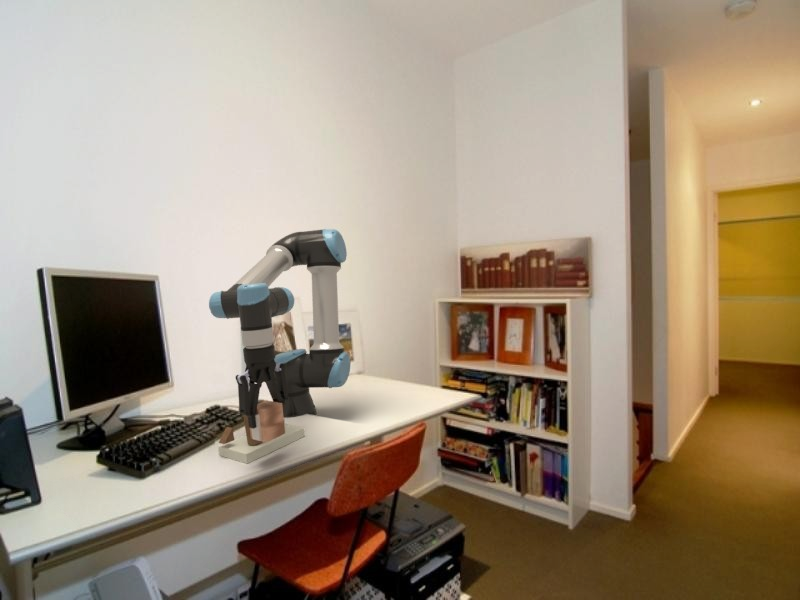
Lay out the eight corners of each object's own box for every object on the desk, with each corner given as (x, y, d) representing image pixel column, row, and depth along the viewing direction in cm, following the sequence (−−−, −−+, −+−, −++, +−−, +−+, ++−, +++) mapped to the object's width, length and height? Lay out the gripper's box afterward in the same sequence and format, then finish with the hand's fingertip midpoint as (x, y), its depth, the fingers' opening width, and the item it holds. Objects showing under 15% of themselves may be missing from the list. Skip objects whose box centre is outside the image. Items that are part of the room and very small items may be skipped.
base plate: (277, 430, 136) (276, 422, 135) (304, 436, 129) (303, 427, 129) (219, 455, 119) (218, 446, 119) (247, 463, 112) (246, 454, 112)
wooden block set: (276, 426, 132) (270, 392, 132) (293, 429, 126) (288, 394, 126) (219, 449, 118) (213, 411, 118) (236, 453, 113) (230, 414, 112)
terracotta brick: (269, 429, 116) (266, 400, 116) (285, 433, 113) (282, 403, 112) (250, 438, 111) (247, 407, 111) (266, 442, 108) (263, 411, 107)
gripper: (278, 337, 120) (286, 419, 122) (215, 352, 104) (226, 446, 106) (297, 338, 116) (305, 423, 118) (235, 354, 100) (246, 452, 102)
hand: (268, 434), depth 112 cm, fingers closed on terracotta brick, 6 cm apart
